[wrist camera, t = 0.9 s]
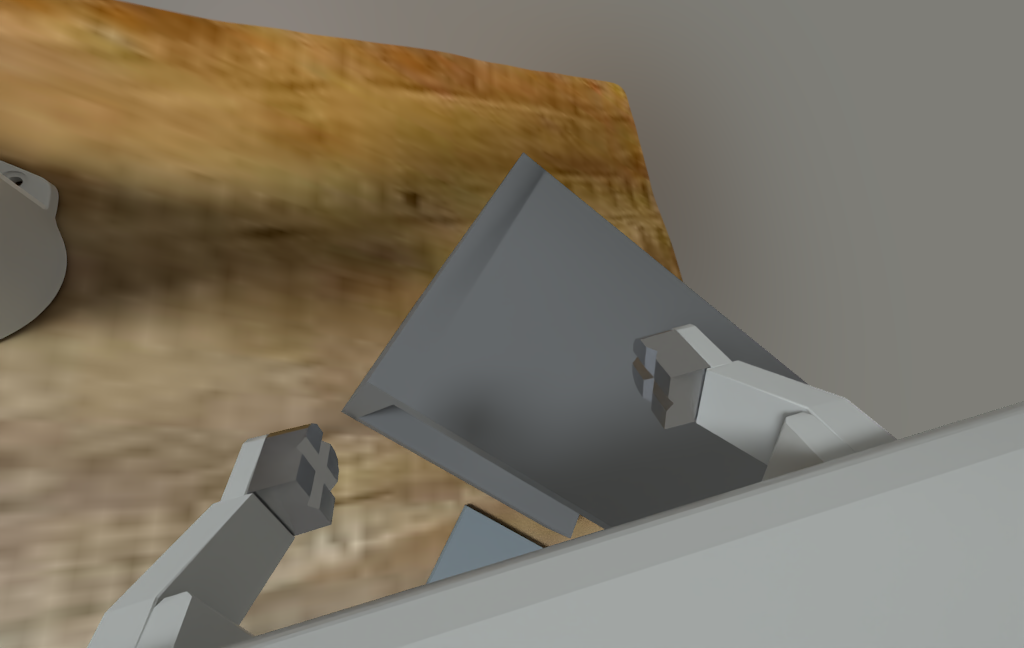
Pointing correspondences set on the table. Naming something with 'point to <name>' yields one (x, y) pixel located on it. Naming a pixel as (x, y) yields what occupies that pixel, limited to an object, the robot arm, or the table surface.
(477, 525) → the mat
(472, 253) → the grey c-shaped bracket
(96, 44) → the table surface
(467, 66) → the table surface
